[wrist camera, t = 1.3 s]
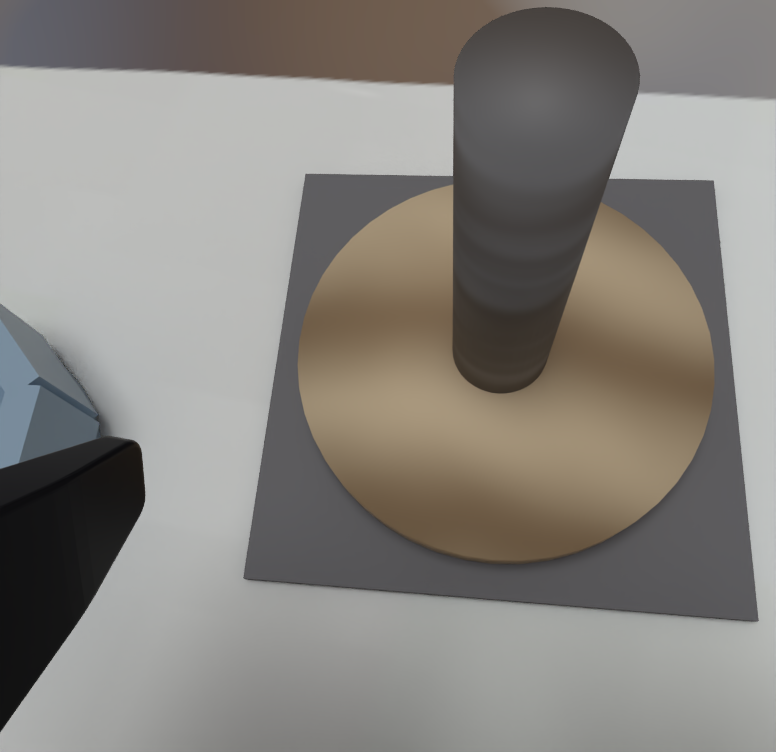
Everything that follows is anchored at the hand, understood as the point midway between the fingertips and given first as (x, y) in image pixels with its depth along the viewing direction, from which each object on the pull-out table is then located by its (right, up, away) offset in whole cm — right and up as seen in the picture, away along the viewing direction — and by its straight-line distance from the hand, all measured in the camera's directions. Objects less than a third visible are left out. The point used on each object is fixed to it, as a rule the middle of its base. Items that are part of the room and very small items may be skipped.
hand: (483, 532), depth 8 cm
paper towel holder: (+3, +2, +15) cm, 15 cm away
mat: (+3, +2, +15) cm, 15 cm away
